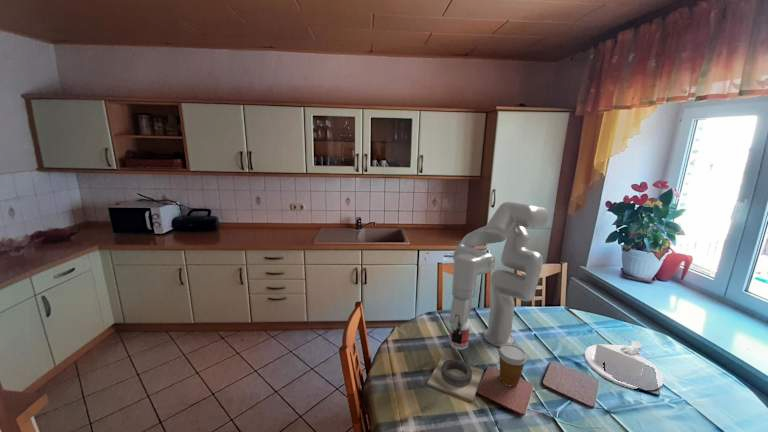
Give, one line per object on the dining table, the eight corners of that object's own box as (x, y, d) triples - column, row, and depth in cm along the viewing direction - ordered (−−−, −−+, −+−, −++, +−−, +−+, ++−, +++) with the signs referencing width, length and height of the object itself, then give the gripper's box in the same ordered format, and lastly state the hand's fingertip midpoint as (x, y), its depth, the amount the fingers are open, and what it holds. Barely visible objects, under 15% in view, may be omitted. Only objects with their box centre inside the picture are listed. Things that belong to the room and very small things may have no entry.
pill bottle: (471, 346, 113) (474, 318, 110) (459, 352, 110) (461, 323, 107) (458, 337, 118) (460, 310, 115) (446, 342, 115) (448, 315, 112)
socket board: (442, 358, 128) (442, 349, 127) (483, 372, 120) (484, 363, 119) (427, 384, 114) (427, 374, 113) (472, 402, 107) (473, 392, 106)
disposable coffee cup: (510, 393, 111) (514, 363, 108) (489, 375, 119) (492, 347, 116) (529, 384, 115) (533, 355, 112) (508, 368, 123) (511, 340, 120)
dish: (651, 357, 131) (657, 333, 128) (673, 401, 109) (681, 373, 106) (581, 340, 141) (585, 317, 138) (589, 378, 119) (594, 351, 116)
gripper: (459, 278, 118) (456, 322, 122) (444, 298, 103) (440, 347, 108) (480, 283, 114) (476, 328, 119) (467, 304, 100) (463, 354, 104)
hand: (459, 336), depth 113 cm, fingers closed on pill bottle, 6 cm apart
